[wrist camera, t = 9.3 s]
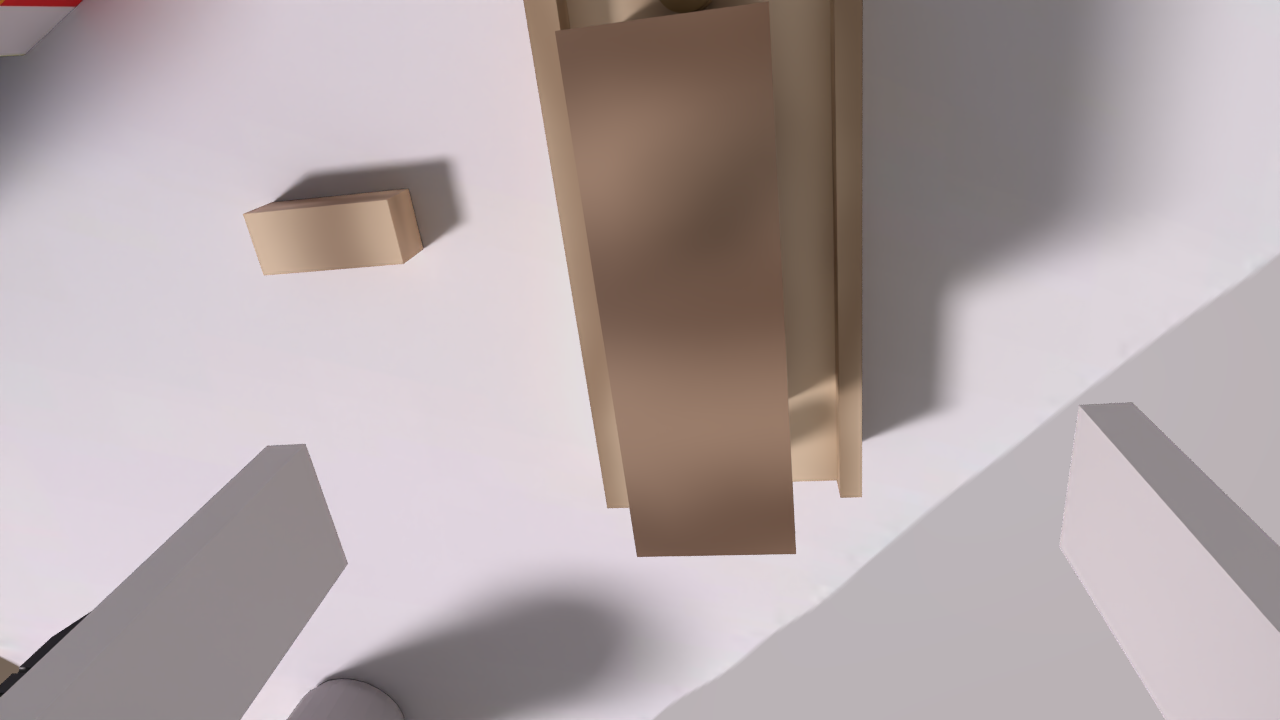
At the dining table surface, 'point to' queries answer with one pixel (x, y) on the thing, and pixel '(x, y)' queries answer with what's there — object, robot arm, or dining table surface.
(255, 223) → the block
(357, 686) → the coffee cup
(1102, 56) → the dining table surface
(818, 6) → the ledge
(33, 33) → the puzzle toy
